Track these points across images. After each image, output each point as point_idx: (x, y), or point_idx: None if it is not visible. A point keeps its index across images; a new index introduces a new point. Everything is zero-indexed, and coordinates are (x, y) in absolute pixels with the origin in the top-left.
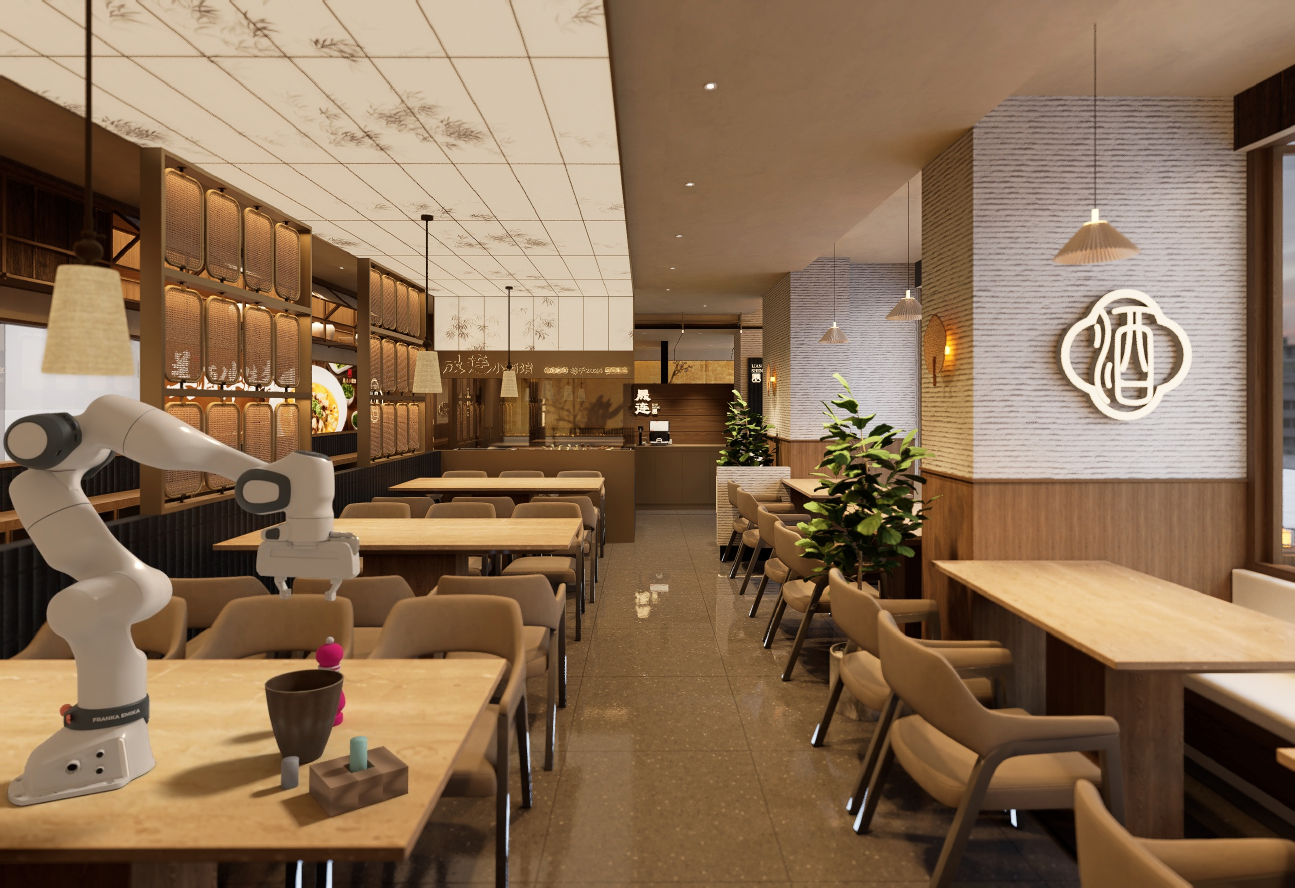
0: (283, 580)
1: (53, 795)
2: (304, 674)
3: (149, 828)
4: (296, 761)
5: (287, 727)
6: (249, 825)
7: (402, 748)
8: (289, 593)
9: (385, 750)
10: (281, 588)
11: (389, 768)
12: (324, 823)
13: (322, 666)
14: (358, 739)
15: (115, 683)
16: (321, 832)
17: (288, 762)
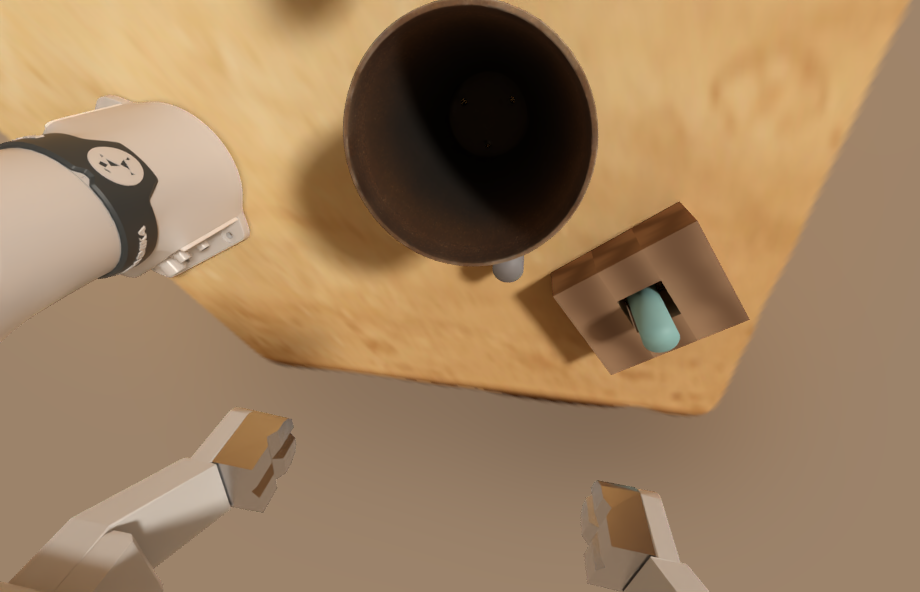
0: (151, 572)
1: (192, 266)
2: (416, 20)
3: (377, 342)
4: (521, 274)
5: (468, 210)
6: (498, 351)
7: (728, 68)
8: (269, 449)
9: (702, 245)
10: (213, 521)
11: (710, 323)
12: (599, 359)
13: None
14: (660, 340)
15: (63, 296)
16: (600, 377)
17: (509, 281)
